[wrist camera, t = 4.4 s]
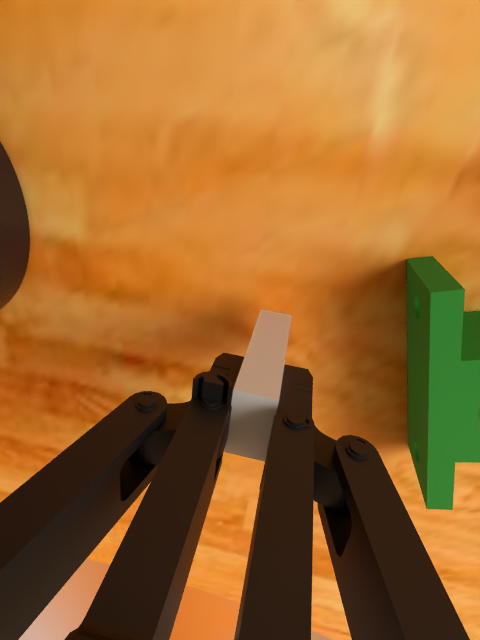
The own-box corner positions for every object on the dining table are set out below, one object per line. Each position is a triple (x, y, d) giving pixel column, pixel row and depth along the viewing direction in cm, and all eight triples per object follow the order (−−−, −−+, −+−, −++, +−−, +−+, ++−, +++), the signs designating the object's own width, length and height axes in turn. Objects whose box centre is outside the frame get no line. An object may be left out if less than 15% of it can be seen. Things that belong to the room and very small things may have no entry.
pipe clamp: (478, 440, 21) (515, 513, 17) (406, 441, 22) (426, 509, 18) (496, 246, 17) (552, 282, 13) (405, 257, 18) (430, 293, 14)
